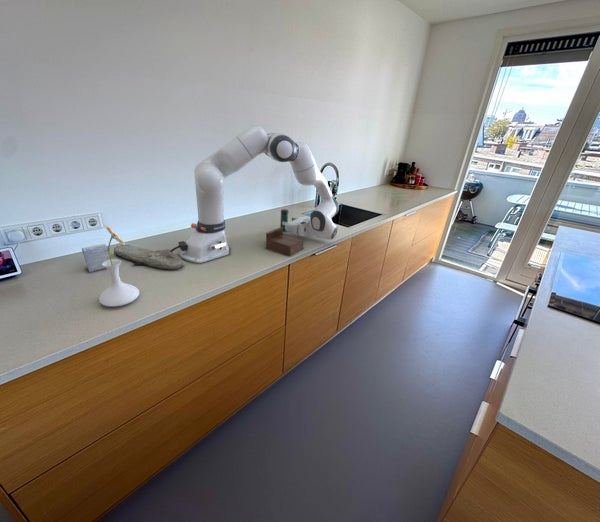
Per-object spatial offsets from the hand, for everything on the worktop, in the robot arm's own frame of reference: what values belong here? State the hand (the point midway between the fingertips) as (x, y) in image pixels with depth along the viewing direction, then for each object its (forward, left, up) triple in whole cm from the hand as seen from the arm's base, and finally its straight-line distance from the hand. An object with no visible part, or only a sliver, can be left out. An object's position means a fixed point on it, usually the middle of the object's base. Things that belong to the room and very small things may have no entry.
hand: (287, 220), depth 161 cm
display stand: (-21, -13, -6) cm, 25 cm away
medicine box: (-84, +32, -7) cm, 90 cm away
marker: (0, +2, -6) cm, 7 cm away
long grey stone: (-69, +24, -7) cm, 73 cm away
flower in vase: (-91, +5, -7) cm, 91 cm away
